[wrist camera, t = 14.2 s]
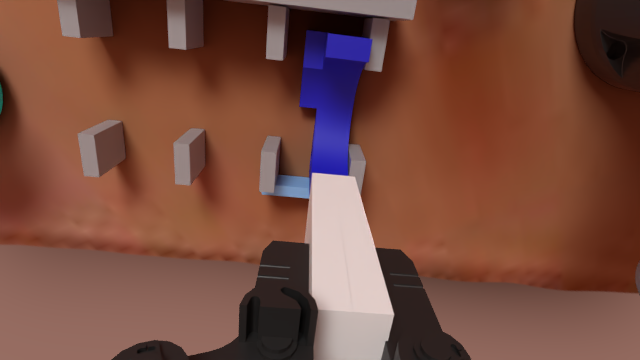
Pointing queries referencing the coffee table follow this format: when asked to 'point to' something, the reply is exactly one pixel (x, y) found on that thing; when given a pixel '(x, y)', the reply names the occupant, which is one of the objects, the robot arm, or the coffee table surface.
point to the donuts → (1, 99)
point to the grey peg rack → (187, 33)
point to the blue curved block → (331, 95)
